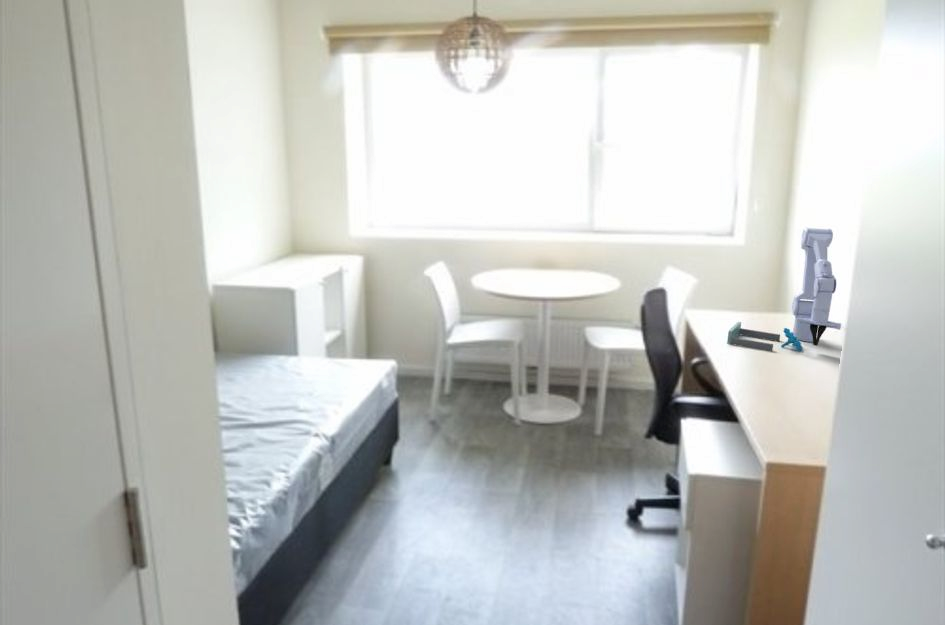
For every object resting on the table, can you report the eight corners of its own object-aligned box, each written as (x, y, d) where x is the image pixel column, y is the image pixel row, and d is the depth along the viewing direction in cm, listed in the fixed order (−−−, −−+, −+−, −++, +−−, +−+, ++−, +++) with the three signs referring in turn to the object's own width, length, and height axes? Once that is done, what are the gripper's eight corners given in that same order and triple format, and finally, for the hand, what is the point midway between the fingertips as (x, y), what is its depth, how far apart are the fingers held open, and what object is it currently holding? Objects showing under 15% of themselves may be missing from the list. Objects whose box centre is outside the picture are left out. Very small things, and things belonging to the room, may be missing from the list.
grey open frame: (736, 333, 281) (738, 321, 280) (779, 340, 273) (781, 328, 272) (727, 343, 267) (728, 330, 266) (771, 351, 259) (773, 338, 258)
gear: (800, 349, 256) (783, 327, 259) (786, 358, 259) (770, 336, 262) (807, 347, 264) (791, 326, 268) (794, 356, 268) (778, 334, 271)
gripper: (798, 308, 256) (792, 343, 259) (842, 314, 248) (836, 350, 252) (800, 304, 261) (795, 339, 265) (843, 310, 254) (837, 346, 257)
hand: (815, 344), depth 259 cm, fingers closed
